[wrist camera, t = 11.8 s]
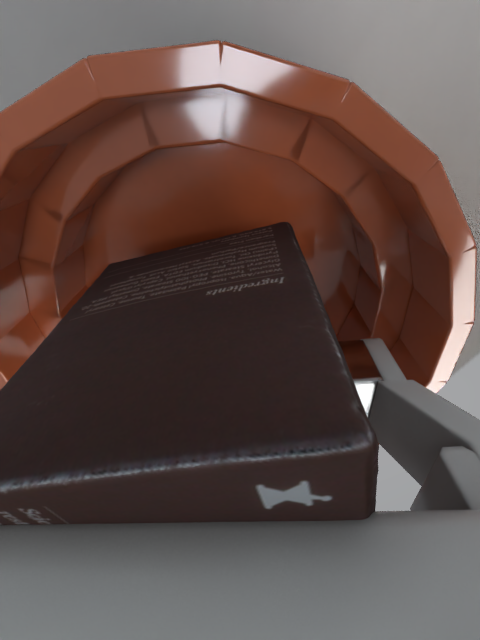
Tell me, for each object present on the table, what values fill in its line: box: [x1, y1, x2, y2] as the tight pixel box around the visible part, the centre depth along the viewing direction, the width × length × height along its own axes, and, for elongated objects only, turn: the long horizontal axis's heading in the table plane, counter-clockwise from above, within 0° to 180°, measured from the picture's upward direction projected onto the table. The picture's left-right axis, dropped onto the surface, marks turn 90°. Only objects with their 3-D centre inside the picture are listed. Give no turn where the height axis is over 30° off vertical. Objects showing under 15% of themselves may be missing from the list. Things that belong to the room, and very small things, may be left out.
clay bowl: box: [0, 40, 477, 445], centre depth 11 cm, size 14×14×5 cm
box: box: [0, 222, 379, 525], centre depth 8 cm, size 6×6×7 cm
